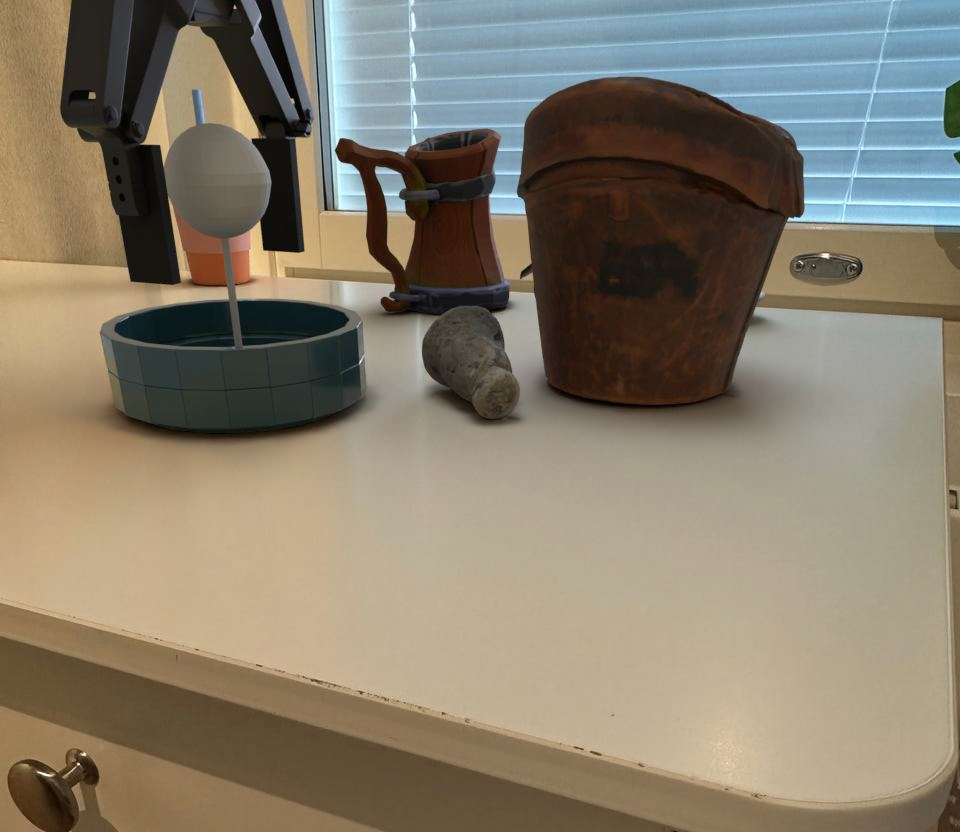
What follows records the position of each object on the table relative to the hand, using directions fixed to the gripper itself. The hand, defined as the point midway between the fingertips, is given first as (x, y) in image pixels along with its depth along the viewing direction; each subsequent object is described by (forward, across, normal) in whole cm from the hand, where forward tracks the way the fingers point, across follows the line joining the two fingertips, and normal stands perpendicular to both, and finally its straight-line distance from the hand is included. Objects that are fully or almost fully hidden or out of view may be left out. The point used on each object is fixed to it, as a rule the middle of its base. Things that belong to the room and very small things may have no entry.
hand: (226, 266), depth 53 cm
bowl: (+8, 0, 0) cm, 8 cm away
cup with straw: (+8, +40, +28) cm, 50 cm away
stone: (+8, +6, -14) cm, 17 cm away
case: (+8, +14, -23) cm, 28 cm away
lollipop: (+8, 0, 0) cm, 8 cm away
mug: (+8, +34, +1) cm, 35 cm away
